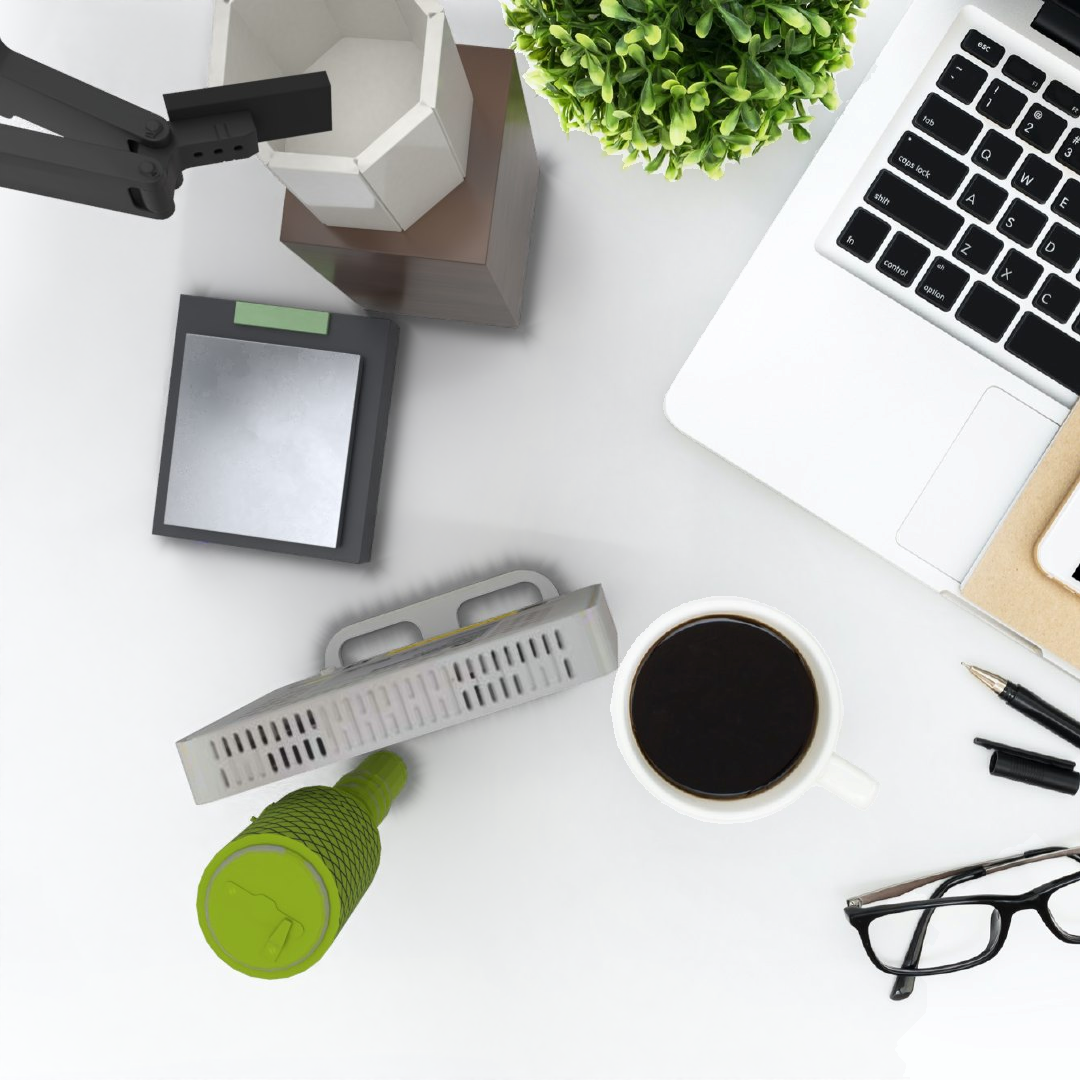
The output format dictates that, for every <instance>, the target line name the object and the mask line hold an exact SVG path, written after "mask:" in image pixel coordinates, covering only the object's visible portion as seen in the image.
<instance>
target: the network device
mask: <svg viewBox="0 0 1080 1080" xmlns="http://www.w3.org/2000/svg"><path fill="white" fill-rule="evenodd" d="M523 582H525V583H531V584H533V585H534V586H536V587H537V589H538V590H539V591H540V595H541V597H542V601H539V602H536V603H533V604H529V605H527V606H524V607H521V608H517V609H513V610H511V611H508V612H504V613H502V614H499V615H495V616H492V617H490V618H487V619H484V620H481V621H477V622H475V623H471V624H468V625H466V626H461V623H460V620H459V615H458V614H459V609H460V607H461V605H462V604H463V603H465V601H468V600H472V599H475V598H477V597H480V596H483V595H487V594H489V593H492V592H495V591H498V590H501V589H504V588H508V587H511V586H513V585H516V584H520V583H523ZM612 615H613V614H612V612H611V609H610V606H609V603H608V600H607V598H606V594H605V591H604V589H603V586H602V583H601V582H600V583H595V584H591V585H588V586H585V587H582V588H581V587H580V588H579V589H576V590H572V591H569V592H566V593H563V594H560V593H559V591H558V588H557V587H556V586H555V584H554V583H553V581H551V579H549V578H548V577H547V576H545V575H544V574H542V573H540V572H539V571H534V570H531V569H516V570H512V571H508V572H506V573H505V572H504V573H502V574H499V575H496V576H494V577H490V578H488V579H484V580H481V581H479V582H475V583H472V584H469V585H467V586H463V587H460V588H457V589H454V590H452V591H449V592H445V593H442V594H439V595H436V596H433V597H430V598H427V599H425V600H421V601H418V602H415V603H412V604H409V605H406V606H404V607H400V608H397V609H394V610H390V611H388V612H385V613H382V614H379V615H375V616H373V617H370V618H367V619H364V620H361V621H358V622H355V623H351V624H350V625H348V626H345V627H342V628H341V629H340V630H339V631H337V632H336V633H335V634H334V635H333V637H331V639H330V640H329V642H328V644H327V646H326V650H325V653H324V667H325V669H322V670H320V671H319V673H318V674H316V675H313V676H309V677H307V678H304V679H301V680H298V681H295V682H292V683H289V684H287V685H284V686H281V687H279V688H277V689H274V690H272V691H270V692H268V693H266V694H264V695H262V696H260V697H259V698H257V699H255V700H252V701H251V702H249V703H247V704H245V705H243V706H241V707H239V708H238V709H236V710H233V711H232V712H230V713H228V714H226V715H224V716H223V717H219V719H217V720H215V721H213V722H211V723H209V724H207V725H205V726H204V727H201V728H200V729H198V730H196V731H194V732H192V733H190V734H188V735H186V736H184V737H182V738H181V739H179V740H176V741H175V742H174V744H175V747H176V750H177V753H178V757H179V759H180V762H181V765H182V767H183V771H184V774H185V777H186V779H187V783H188V786H189V789H190V791H191V795H192V798H193V800H194V804H195V806H202V805H207V804H210V803H214V802H216V801H217V802H218V801H219V800H222V799H223V800H224V799H226V798H229V797H232V796H235V795H239V794H242V793H244V792H247V791H251V790H254V789H257V788H260V787H264V786H266V785H267V786H268V785H270V784H273V783H276V782H280V781H283V780H286V779H288V778H292V777H295V776H298V775H302V774H304V773H308V772H311V771H314V770H317V769H320V768H322V767H327V766H330V765H332V764H335V763H339V762H343V761H345V760H348V759H352V758H355V757H358V756H360V755H365V754H367V753H370V752H374V751H376V750H377V751H378V750H379V749H382V748H386V747H389V746H392V745H395V744H399V743H401V742H405V741H407V740H411V739H415V738H417V737H420V736H421V737H422V736H424V735H426V734H427V735H428V734H429V733H433V732H437V731H440V730H442V729H445V728H449V727H452V726H455V725H458V724H461V723H464V722H468V721H470V720H473V719H477V718H480V717H483V716H486V715H489V714H493V713H496V712H499V711H502V710H506V709H508V708H512V707H515V706H517V705H521V704H524V703H527V702H530V701H534V700H536V699H539V698H543V697H546V696H549V695H552V694H555V693H558V692H562V691H565V690H567V689H571V688H573V687H577V686H580V685H583V684H586V683H590V682H592V681H596V680H598V679H600V678H603V677H606V676H608V675H610V674H612V673H614V672H616V671H617V670H618V669H619V642H618V641H619V640H618V638H619V637H618V631H617V627H616V624H615V622H614V618H613V616H612ZM403 622H410V623H412V624H414V625H415V626H416V627H417V628H418V629H419V631H420V633H421V636H422V639H423V640H420V641H417V642H414V643H410V644H408V645H405V646H402V647H398V648H395V649H392V650H390V651H386V652H383V653H380V654H377V655H374V656H371V657H367V658H365V659H361V660H359V661H355V662H353V663H349V664H347V665H345V664H344V662H343V658H342V647H343V646H344V644H345V642H347V641H348V640H350V639H354V638H356V637H360V636H363V635H366V634H368V633H372V632H374V631H378V630H381V629H383V628H387V627H389V626H392V625H395V624H398V623H403Z"/></svg>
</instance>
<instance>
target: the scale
mask: <svg viewBox="0 0 1080 1080" xmlns="http://www.w3.org/2000/svg"><path fill="white" fill-rule="evenodd" d="M400 329H401V327H399V326H398V324H396V323H395V322H394V321H393V320H391V319H389V318H388V319H387V318H380V317H374V316H373V317H372V316H365V315H364V316H363V315H355V314H348V313H340V312H331V311H323V310H315V309H306V308H298V307H289V306H283V305H275V304H265V303H257V302H250V301H241V300H234V299H233V300H232V299H225V298H216V297H210V296H209V297H208V296H200V295H193V294H184V293H180V294H179V301H178V311H177V318H176V327H175V336H174V344H173V351H172V352H173V353H172V360H171V367H170V368H171V370H170V378H169V386H168V393H167V394H168V395H167V402H166V403H167V404H166V410H165V419H164V427H163V428H164V429H163V436H162V445H161V454H160V462H159V468H158V469H159V470H158V478H157V487H156V496H155V505H154V512H153V520H152V528H151V535H153V536H161V537H165V538H167V537H168V538H173V539H174V538H175V539H181V540H188V541H196V542H201V543H202V542H203V543H210V544H217V545H222V546H223V545H224V546H229V547H238V548H243V549H244V548H245V549H250V550H251V549H252V550H258V551H265V552H272V553H280V554H287V555H293V556H301V557H307V558H315V559H321V560H329V561H336V562H341V563H342V562H343V563H350V564H357V565H361V564H365V563H370V562H371V556H372V549H373V543H374V542H373V541H374V533H375V526H376V518H377V517H376V516H377V509H378V501H379V495H380V488H381V479H382V471H383V465H384V463H383V462H384V455H385V448H386V439H387V432H388V423H389V416H390V409H391V401H392V393H393V385H394V377H395V369H396V363H397V362H396V361H397V354H398V347H399V346H398V345H399V339H400V338H399V337H400ZM187 333H188V334H196V335H204V336H212V337H220V338H228V339H236V340H244V341H252V342H260V343H268V344H276V345H284V346H292V347H300V348H308V349H316V350H324V351H332V352H340V353H348V354H356V355H361V356H362V357H364V360H363V368H362V376H361V384H360V392H359V400H358V407H357V415H356V423H355V431H354V439H353V447H352V455H351V463H350V470H349V478H348V486H347V494H346V502H345V510H344V518H343V525H342V533H341V541H340V548H329V547H322V546H315V545H308V544H301V543H294V542H287V541H280V540H272V539H265V538H258V537H251V536H244V535H237V534H230V533H223V532H216V531H209V530H202V529H195V528H188V527H181V526H174V525H166V524H164V517H165V508H166V500H167V492H168V483H169V475H170V467H171V458H172V450H173V442H174V433H175V425H176V416H177V408H178V400H179V391H180V383H181V375H182V366H183V358H184V350H185V341H186V334H187Z"/></svg>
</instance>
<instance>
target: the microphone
mask: <svg viewBox="0 0 1080 1080" xmlns="http://www.w3.org/2000/svg"><path fill="white" fill-rule="evenodd" d="M405 764H406V763H405V762H404V760H403V759H402V758H401V757H400V756H399V755H398V754H397V753H395V752H393V751H389V750H377V751H375V752H373V753H371V754H369V755H367V757H366V758H365V759H364V760H363V761H362V762H360V764H359V765H358V766H357V767H356V768H355V769H353V770H351V771H349V772H347V773H345V774H343V775H342V776H341V777H340V778H339V780H337V781H336V783H335V784H334V785H333V786H327V785H321V784H317V785H309V786H303V787H300V788H297V789H295V790H293V791H291V792H288V793H286V794H285V795H283V796H282V797H281V798H279V800H277V801H276V802H274V801H273V802H272V803H270V804H268V805H267V806H266V807H264V809H263V810H262V811H261V813H260V814H259V815H258V817H256V816H254V815H253V816H251V818H250V820H249V821H250V822H251V823H250V824H249V825H248V826H247V827H245V828H244V829H243V830H242V831H240V832H239V833H238V834H237V835H236V836H234V838H233V839H231V840H230V841H229V842H228V843H227V844H225V845H224V847H222V848H221V849H220V850H219V851H217V852H216V853H215V854H214V856H213V857H212V858H211V860H210V861H209V862H208V864H206V866H205V868H204V870H203V873H202V875H201V878H200V880H199V883H198V886H197V892H196V893H197V894H196V901H195V907H196V908H195V909H196V913H197V920H198V925H199V928H200V930H201V932H202V935H203V938H204V939H205V942H206V943H207V944H208V946H209V947H210V949H211V950H212V951H213V953H214V954H215V955H216V957H217V958H219V960H221V961H222V962H224V963H225V964H226V965H227V966H229V968H231V969H232V970H234V971H237V972H239V973H241V974H244V975H246V976H247V977H250V978H255V979H261V980H268V981H272V980H281V979H282V980H283V979H289V978H292V977H294V976H296V975H299V974H302V973H304V972H307V970H309V969H310V968H312V967H313V966H314V965H315V964H317V963H318V962H319V961H321V959H322V958H323V957H324V956H325V954H326V953H327V952H328V950H329V949H330V948H331V947H332V945H333V943H334V942H335V941H336V939H337V937H338V935H340V933H341V931H342V930H343V928H344V927H345V925H346V924H347V922H348V920H349V919H350V917H351V916H352V915H353V913H354V911H355V910H356V908H357V906H358V905H359V903H360V902H361V900H362V899H363V897H364V896H365V894H366V893H367V891H368V890H369V888H370V887H371V885H372V883H373V882H374V879H375V877H376V874H377V871H378V870H379V867H380V864H381V855H382V843H381V836H380V831H379V829H378V827H379V826H380V825H381V824H382V823H383V821H384V820H385V819H386V818H387V817H388V815H389V813H390V809H391V806H392V803H393V802H394V801H395V800H396V798H397V797H398V796H399V794H400V793H401V792H402V790H403V788H404V787H406V786H405V785H406V782H407V779H408V770H407V769H408V768H407V766H406V765H405Z"/></svg>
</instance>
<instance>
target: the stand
mask: <svg viewBox="0 0 1080 1080" xmlns="http://www.w3.org/2000/svg"><path fill="white" fill-rule="evenodd" d="M455 44H456V47H457V50H458V53H459V56H460V59H461V62H462V65H463V68H464V71H465V74H466V77H467V80H468V83H469V86H470V89H471V92H472V95H473V109H472V119H471V129H470V139H469V149H468V159H467V168H466V177H463V178H464V181H463V182H461V183H460V184H459V185H458V186H457V187H456V188H454V189H453V190H452V191H451V192H450V193H449V194H447V195H446V196H445V197H444V198H443V199H442V200H440V201H439V202H438V203H437V204H436V205H435V206H433V207H432V208H431V209H430V210H429V211H428V212H426V213H425V214H424V215H423V216H422V217H421V218H419V219H418V220H417V221H416V222H415V223H414V224H412V225H411V226H410V227H409V228H408V229H407V230H405V231H404V230H403V229H402V231H401V232H397V231H385V230H373V229H361V228H349V227H337V226H327V225H326V224H325V223H324V224H323V223H322V222H321V221H320V220H319V219H318V218H317V217H316V216H315V215H314V214H313V213H312V212H311V211H310V210H309V209H308V208H307V207H306V206H305V205H304V204H303V203H302V202H301V201H300V200H299V199H298V198H297V197H296V196H295V195H294V194H293V193H292V192H291V191H290V190H289V189H288V188H287V187H286V186H285V194H284V199H283V209H282V216H281V217H282V218H281V225H280V226H281V227H280V231H279V233H280V234H279V242H281V244H282V245H284V246H285V247H286V248H287V249H288V250H290V251H291V252H293V253H294V254H295V255H296V256H297V257H298V258H300V259H301V260H302V261H304V263H306V264H307V265H309V266H310V268H313V270H314V271H315V272H317V273H318V274H320V276H321V277H323V278H324V279H326V280H327V281H328V282H329V283H330V284H332V285H333V286H334V287H335V288H336V289H338V290H339V291H340V292H341V293H343V294H344V295H345V296H346V297H347V298H349V299H350V300H352V301H353V302H354V303H355V304H356V305H357V306H358V307H360V308H361V309H362V310H364V311H370V312H380V313H386V314H387V313H388V314H395V315H405V316H413V317H422V318H427V319H436V320H437V319H438V320H445V321H452V322H453V321H454V322H462V323H470V324H476V325H477V324H479V325H484V326H485V325H486V326H495V327H503V328H511V329H519V328H520V321H521V314H522V307H523V298H524V292H525V283H526V275H527V269H528V268H527V267H528V260H529V254H530V253H529V252H530V246H531V238H532V230H533V222H534V216H535V210H536V209H535V208H536V201H537V200H536V199H537V193H538V187H539V186H538V185H539V180H540V179H539V178H540V171H541V168H540V164H539V160H538V154H537V150H536V146H535V141H534V136H533V132H532V126H531V121H530V117H529V112H528V109H527V108H528V107H527V104H526V103H527V102H526V99H525V98H526V97H525V94H524V89H523V85H522V80H521V75H520V71H519V65H518V62H517V57H516V52H515V49H513V48H504V47H503V48H502V47H494V46H483V45H473V44H464V43H463V44H462V43H455Z"/></svg>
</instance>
